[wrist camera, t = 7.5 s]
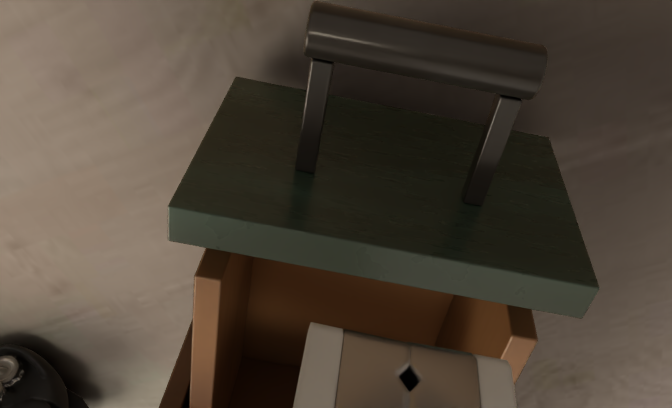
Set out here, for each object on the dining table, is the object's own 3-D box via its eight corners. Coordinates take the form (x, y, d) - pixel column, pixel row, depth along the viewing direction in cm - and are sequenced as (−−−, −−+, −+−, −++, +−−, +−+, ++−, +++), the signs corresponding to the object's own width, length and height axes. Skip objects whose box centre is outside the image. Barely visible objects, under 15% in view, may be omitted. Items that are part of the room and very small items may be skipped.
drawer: (246, -68, 20) (167, 23, 13) (606, 3, 20) (695, 126, 14) (216, 343, 31) (166, 495, 25) (443, 385, 31) (450, 547, 25)
